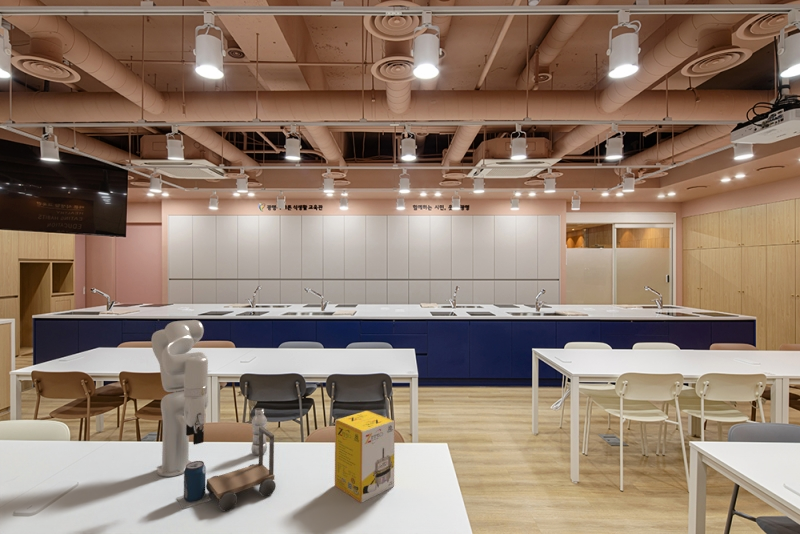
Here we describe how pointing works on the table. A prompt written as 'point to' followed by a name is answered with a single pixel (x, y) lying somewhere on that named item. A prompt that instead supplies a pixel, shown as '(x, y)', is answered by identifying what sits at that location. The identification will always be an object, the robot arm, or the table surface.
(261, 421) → the plastic bottle
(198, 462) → the soda can
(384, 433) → the packaging box
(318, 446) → the table surface
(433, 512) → the table surface
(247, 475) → the trolley
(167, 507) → the table surface
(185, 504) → the mat
